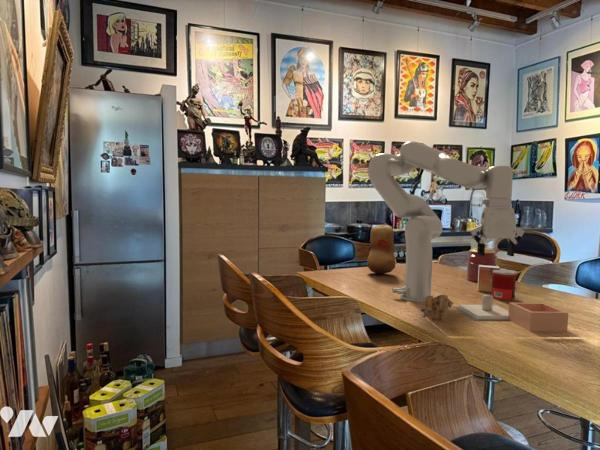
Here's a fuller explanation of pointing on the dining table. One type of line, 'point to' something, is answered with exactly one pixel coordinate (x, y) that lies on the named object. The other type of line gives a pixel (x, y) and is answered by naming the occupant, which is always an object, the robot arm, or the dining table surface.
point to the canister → (479, 262)
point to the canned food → (503, 285)
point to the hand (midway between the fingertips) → (495, 255)
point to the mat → (477, 319)
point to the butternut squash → (381, 250)
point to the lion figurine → (437, 305)
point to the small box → (485, 277)
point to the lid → (486, 309)
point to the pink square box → (538, 317)
